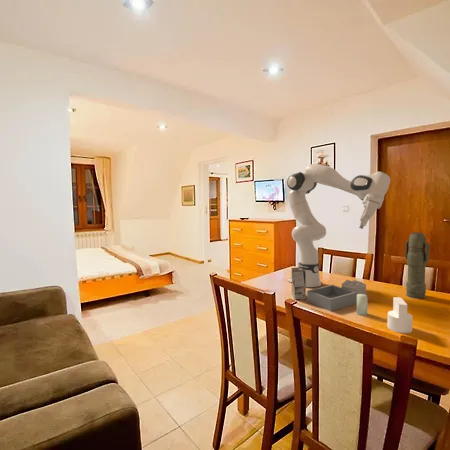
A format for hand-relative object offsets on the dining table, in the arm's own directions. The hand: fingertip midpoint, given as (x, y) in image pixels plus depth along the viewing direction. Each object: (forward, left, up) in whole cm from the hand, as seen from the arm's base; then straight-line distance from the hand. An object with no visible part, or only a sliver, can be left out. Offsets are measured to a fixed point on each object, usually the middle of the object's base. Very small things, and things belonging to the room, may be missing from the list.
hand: (362, 227), depth 148 cm
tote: (-9, -12, -40) cm, 43 cm away
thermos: (+9, +33, -40) cm, 53 cm away
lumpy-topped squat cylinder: (-9, +4, -41) cm, 42 cm away
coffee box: (-25, -21, -40) cm, 52 cm away
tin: (+9, -12, -40) cm, 43 cm away
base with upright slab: (+27, -12, -40) cm, 50 cm away
